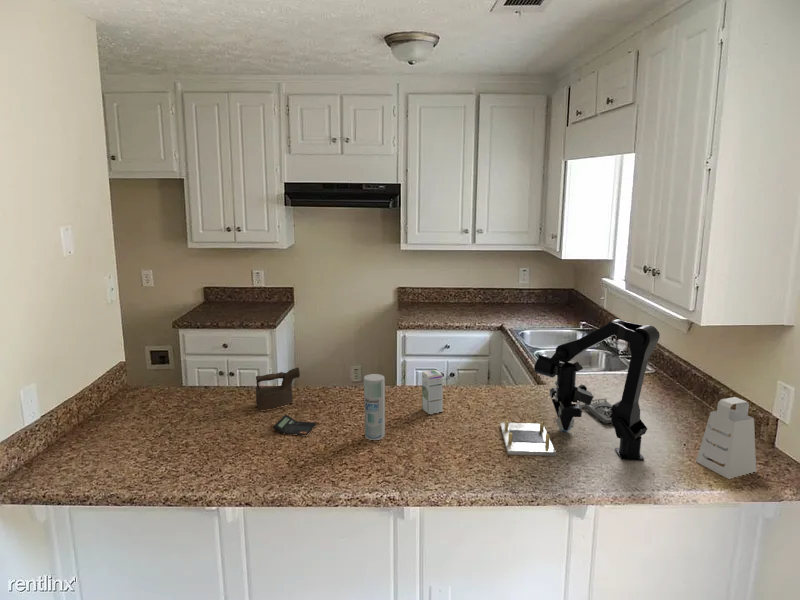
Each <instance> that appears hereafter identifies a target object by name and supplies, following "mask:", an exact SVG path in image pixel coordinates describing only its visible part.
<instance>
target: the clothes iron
mask: <svg viewBox="0 0 800 600" xmlns="http://www.w3.org/2000/svg"><path fill="white" fill-rule="evenodd" d="M300 371H301V370H300V368H299V367H298V366H297V367H295V368H291V369H289V370H288V371H287V372H283V371H281V372H278V373H267V374H264V375H256V376H255V382H256V387H255V397H256V399H255V403H256V407H258V409H259V411H260V410H267V409H273V408H277V407H281V406H285V405H288V404H290V403H292V402H293V403H294V399H293V398H294V397H293V389H292V387H293V386H292V385H293V381H294V379H296V378H297V379H299V378H300V375H301V373H300ZM277 379H282V381H281V385H273V386H264V387H260V385H259V383H261V382H265V381H266V382H267V381H268V382H270V381H273V380H277ZM293 403H292V404H293ZM288 406H289V405H288Z"/></svg>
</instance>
